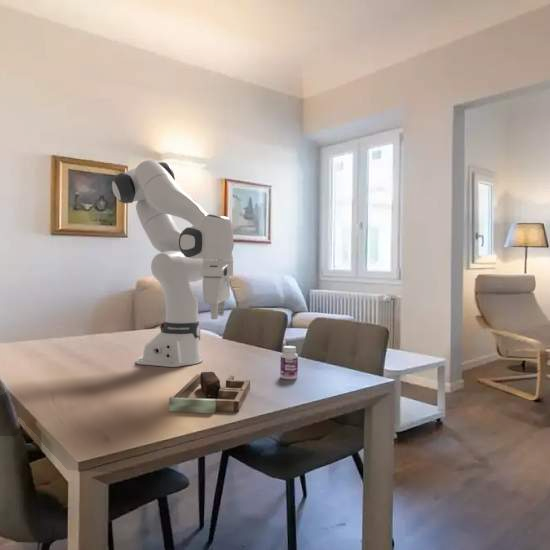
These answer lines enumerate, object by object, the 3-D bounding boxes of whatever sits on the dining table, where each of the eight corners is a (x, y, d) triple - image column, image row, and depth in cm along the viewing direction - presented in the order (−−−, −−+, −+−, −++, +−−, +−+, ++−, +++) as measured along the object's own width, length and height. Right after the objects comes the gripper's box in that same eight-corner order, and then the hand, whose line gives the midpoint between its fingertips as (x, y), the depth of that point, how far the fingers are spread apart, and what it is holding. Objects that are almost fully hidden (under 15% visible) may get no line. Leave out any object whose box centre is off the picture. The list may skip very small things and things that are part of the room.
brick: (199, 388, 131) (199, 371, 131) (213, 387, 133) (213, 371, 132) (205, 399, 121) (206, 381, 121) (220, 398, 122) (221, 380, 122)
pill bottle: (285, 380, 141) (285, 348, 140) (277, 376, 145) (277, 345, 145) (300, 378, 143) (301, 347, 143) (292, 374, 148) (292, 344, 147)
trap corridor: (168, 411, 111) (169, 398, 110) (196, 382, 136) (196, 372, 136) (237, 414, 109) (237, 401, 109) (252, 384, 135) (252, 374, 135)
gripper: (214, 269, 147) (214, 313, 147) (198, 270, 126) (198, 321, 127) (234, 269, 146) (234, 313, 147) (221, 270, 126) (221, 321, 126)
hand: (217, 317), depth 136 cm, fingers open, 8 cm apart
